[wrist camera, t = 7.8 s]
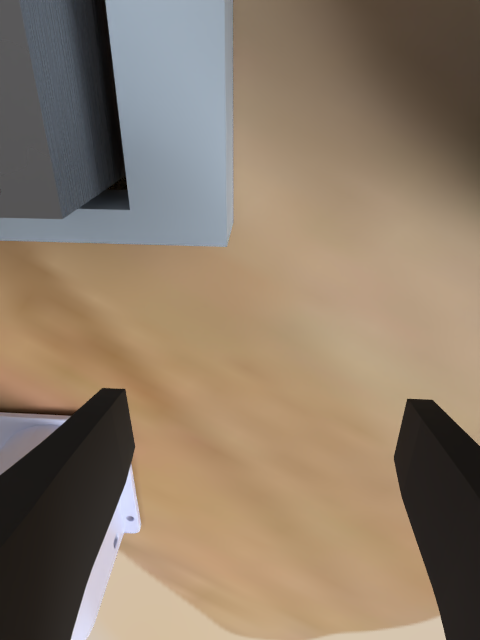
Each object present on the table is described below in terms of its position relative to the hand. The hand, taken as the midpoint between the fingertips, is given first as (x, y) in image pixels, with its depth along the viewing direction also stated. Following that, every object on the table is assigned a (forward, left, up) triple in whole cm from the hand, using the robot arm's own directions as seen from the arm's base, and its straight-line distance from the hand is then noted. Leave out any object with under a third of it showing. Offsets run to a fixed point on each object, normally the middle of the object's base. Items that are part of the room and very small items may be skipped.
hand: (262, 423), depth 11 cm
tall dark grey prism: (+8, +7, -10) cm, 14 cm away
